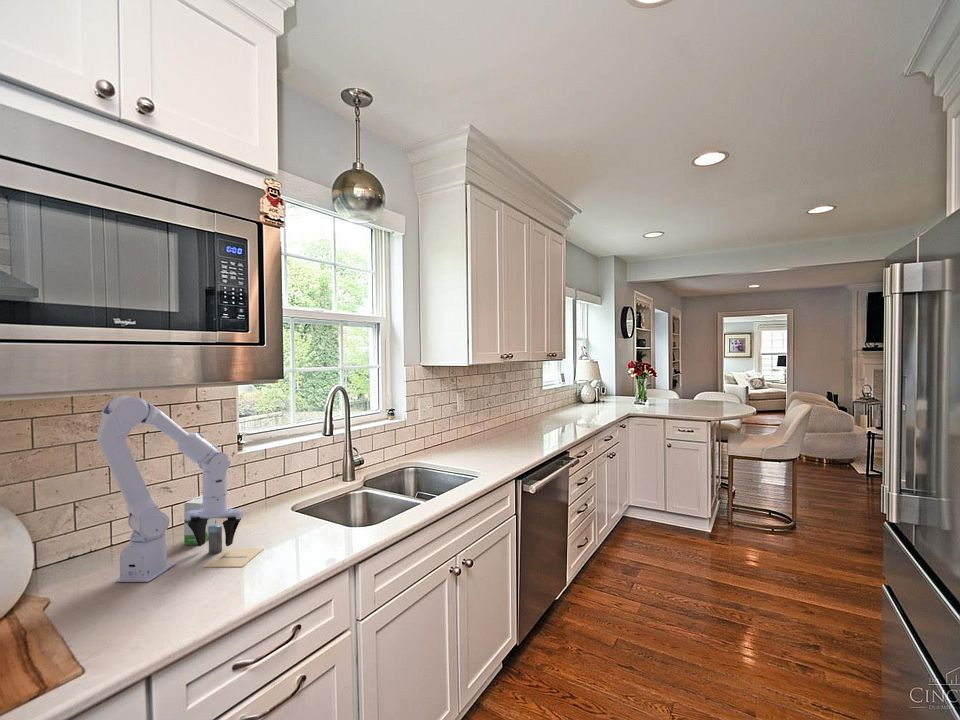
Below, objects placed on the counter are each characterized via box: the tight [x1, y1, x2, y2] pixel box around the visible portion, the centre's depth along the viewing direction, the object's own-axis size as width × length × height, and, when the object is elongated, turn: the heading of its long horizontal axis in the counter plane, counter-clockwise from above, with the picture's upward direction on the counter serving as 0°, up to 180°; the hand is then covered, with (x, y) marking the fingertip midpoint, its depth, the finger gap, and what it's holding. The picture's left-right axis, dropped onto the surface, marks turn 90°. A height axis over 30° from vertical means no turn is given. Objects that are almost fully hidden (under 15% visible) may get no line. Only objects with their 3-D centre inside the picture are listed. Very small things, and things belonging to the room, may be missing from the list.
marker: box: [208, 523, 223, 555], centre depth 127 cm, size 3×3×7 cm
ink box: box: [183, 494, 218, 546], centre depth 136 cm, size 9×5×12 cm, turn 179°
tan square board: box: [202, 548, 264, 568], centre depth 123 cm, size 11×10×1 cm
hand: (215, 544), depth 127 cm, fingers open, 7 cm apart
